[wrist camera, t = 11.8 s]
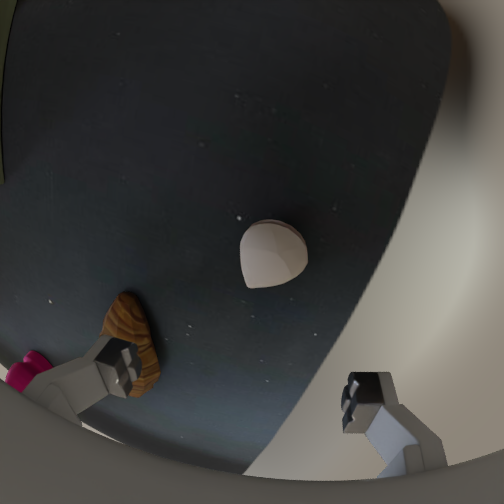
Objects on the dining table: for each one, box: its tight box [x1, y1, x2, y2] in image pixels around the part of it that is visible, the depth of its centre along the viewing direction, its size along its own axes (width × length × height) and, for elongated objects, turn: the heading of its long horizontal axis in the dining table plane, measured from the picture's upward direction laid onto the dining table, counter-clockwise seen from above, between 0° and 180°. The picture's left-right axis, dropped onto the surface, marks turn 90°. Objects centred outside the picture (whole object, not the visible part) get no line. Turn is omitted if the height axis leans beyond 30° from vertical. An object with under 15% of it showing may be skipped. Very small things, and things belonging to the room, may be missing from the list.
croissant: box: [99, 292, 161, 398], centre depth 23 cm, size 14×7×5 cm, turn 169°
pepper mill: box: [5, 351, 53, 393], centre depth 23 cm, size 7×7×20 cm
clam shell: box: [240, 219, 308, 288], centre depth 18 cm, size 4×5×2 cm
